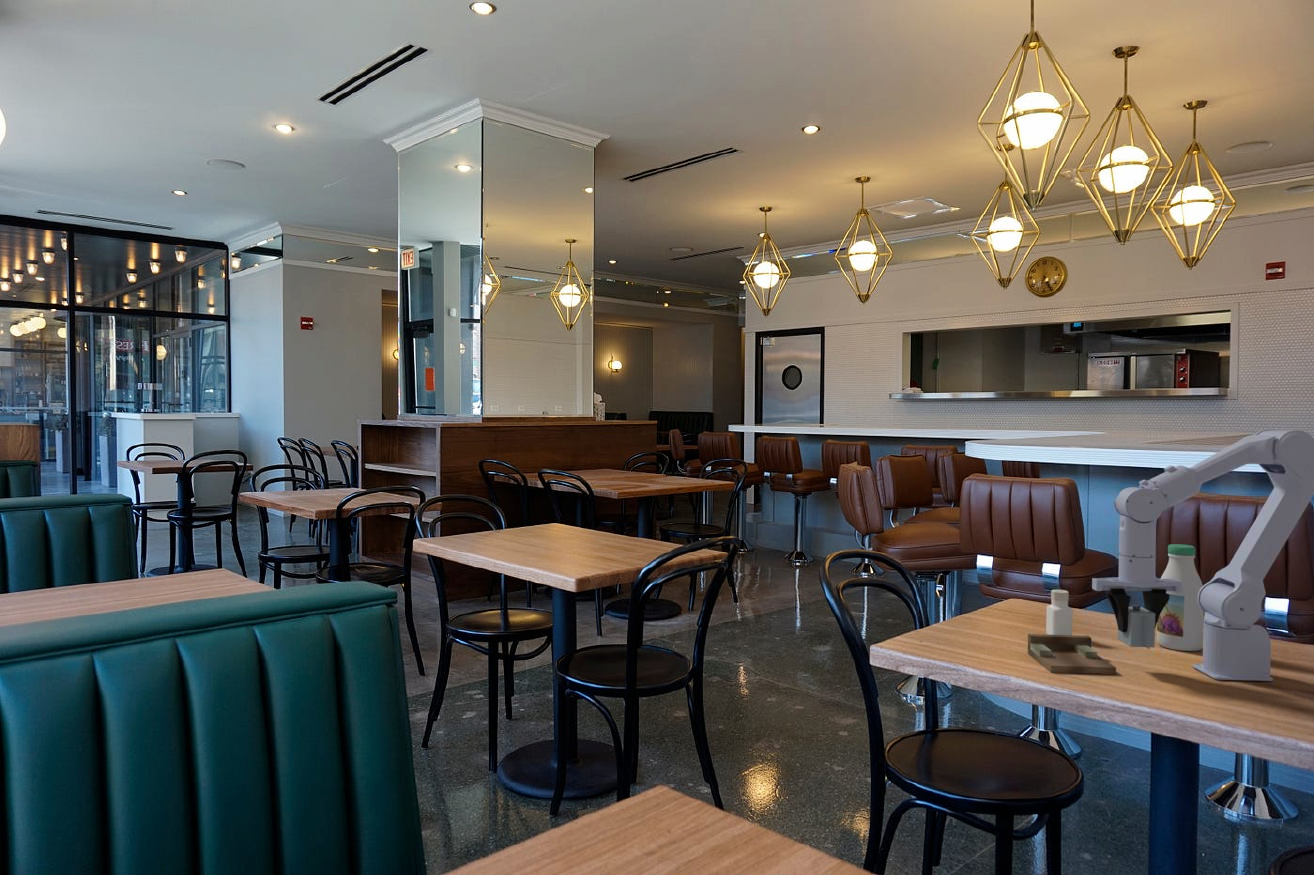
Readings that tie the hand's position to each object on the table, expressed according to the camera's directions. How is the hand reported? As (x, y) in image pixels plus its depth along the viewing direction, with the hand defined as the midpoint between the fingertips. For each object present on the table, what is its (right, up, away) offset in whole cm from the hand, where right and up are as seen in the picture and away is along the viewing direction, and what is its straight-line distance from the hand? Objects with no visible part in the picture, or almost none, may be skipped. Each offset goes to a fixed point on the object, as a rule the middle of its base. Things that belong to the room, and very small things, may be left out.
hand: (1136, 631), depth 153 cm
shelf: (-10, -7, +4) cm, 13 cm away
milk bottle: (+17, -7, +16) cm, 24 cm away
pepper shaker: (-3, -7, +23) cm, 24 cm away
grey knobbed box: (0, -2, -1) cm, 3 cm away
